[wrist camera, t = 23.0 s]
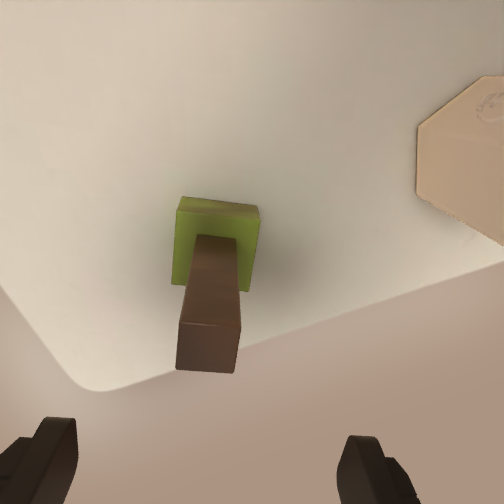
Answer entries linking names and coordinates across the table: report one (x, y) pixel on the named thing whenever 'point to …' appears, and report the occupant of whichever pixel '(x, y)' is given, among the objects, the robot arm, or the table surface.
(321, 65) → the table surface
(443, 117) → the jar
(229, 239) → the green-headed mallet
